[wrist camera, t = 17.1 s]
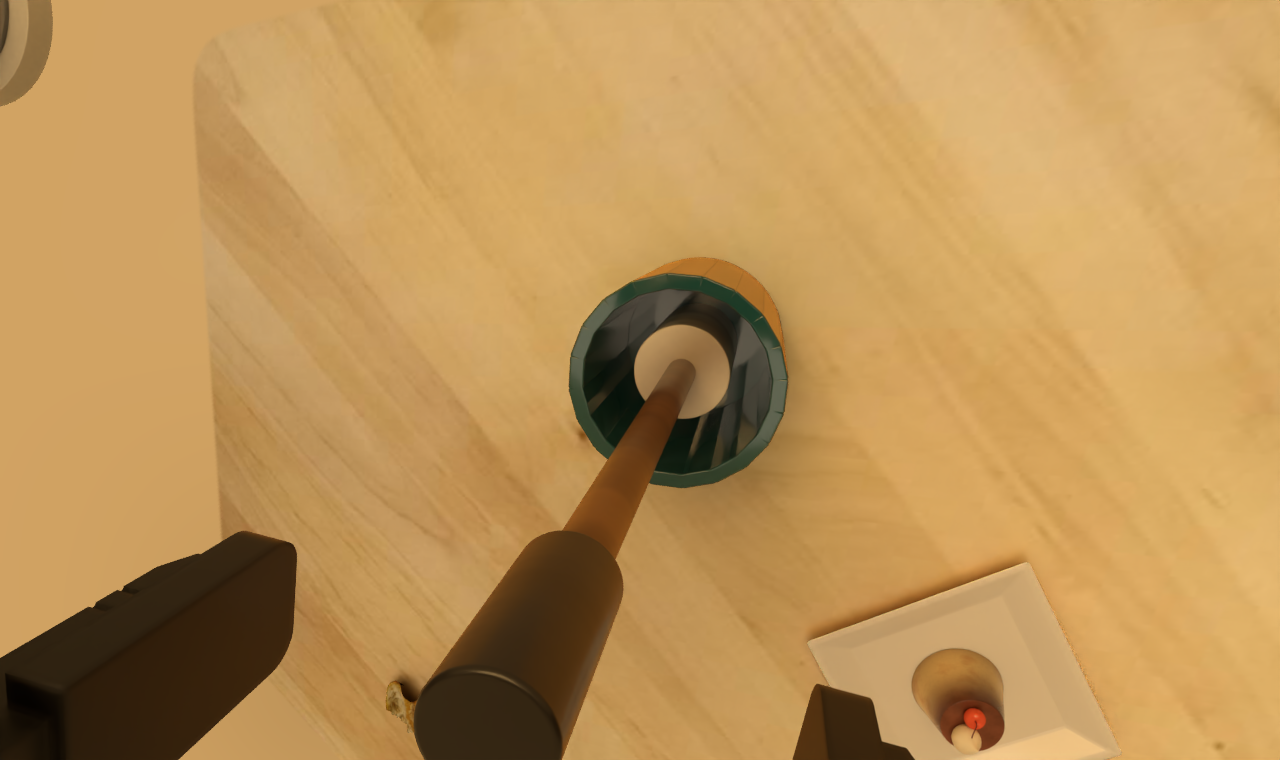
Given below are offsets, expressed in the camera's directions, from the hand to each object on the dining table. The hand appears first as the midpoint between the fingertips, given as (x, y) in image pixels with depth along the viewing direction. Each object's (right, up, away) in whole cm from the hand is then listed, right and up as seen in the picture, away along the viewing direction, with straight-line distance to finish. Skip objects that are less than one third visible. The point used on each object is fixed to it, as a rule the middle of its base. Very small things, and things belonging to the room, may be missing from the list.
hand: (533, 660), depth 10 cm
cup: (+5, +6, +26) cm, 27 cm away
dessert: (+19, -12, +28) cm, 36 cm away
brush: (+4, +6, +25) cm, 26 cm away
